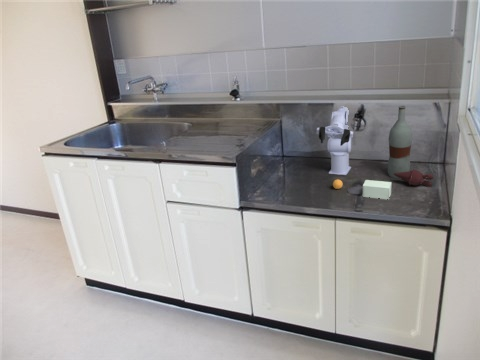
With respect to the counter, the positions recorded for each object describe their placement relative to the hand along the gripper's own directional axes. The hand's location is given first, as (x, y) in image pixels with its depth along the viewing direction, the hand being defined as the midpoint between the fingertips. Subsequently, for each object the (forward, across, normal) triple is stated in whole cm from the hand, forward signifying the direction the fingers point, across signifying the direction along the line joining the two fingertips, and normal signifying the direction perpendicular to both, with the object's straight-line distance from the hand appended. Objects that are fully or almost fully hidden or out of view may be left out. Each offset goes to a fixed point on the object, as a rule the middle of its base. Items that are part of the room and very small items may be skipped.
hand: (331, 142), depth 157 cm
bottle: (-16, +28, +21) cm, 38 cm away
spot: (+2, +12, +20) cm, 23 cm away
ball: (+1, +4, +19) cm, 19 cm away
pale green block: (+5, +20, +18) cm, 27 cm away
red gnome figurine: (-7, +33, +19) cm, 39 cm away
